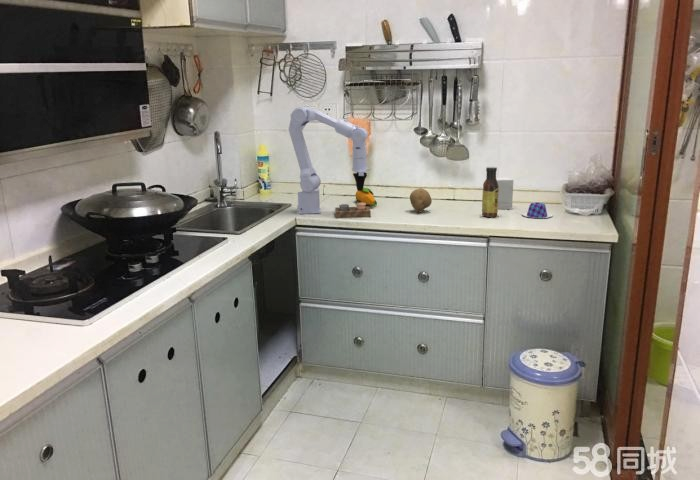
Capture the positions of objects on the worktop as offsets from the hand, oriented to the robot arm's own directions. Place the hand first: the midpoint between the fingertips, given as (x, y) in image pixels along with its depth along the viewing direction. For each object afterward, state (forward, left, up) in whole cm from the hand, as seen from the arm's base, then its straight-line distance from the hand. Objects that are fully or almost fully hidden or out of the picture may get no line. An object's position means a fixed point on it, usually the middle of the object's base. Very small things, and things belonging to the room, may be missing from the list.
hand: (360, 190), depth 245 cm
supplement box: (+62, +3, -10) cm, 63 cm away
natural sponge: (+26, 0, -10) cm, 28 cm away
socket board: (-3, -2, -10) cm, 11 cm away
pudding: (+71, -14, -10) cm, 73 cm away
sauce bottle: (+52, -12, -10) cm, 54 cm away
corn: (+5, +18, -10) cm, 21 cm away
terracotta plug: (0, -2, -9) cm, 9 cm away
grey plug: (-7, -2, -10) cm, 12 cm away
